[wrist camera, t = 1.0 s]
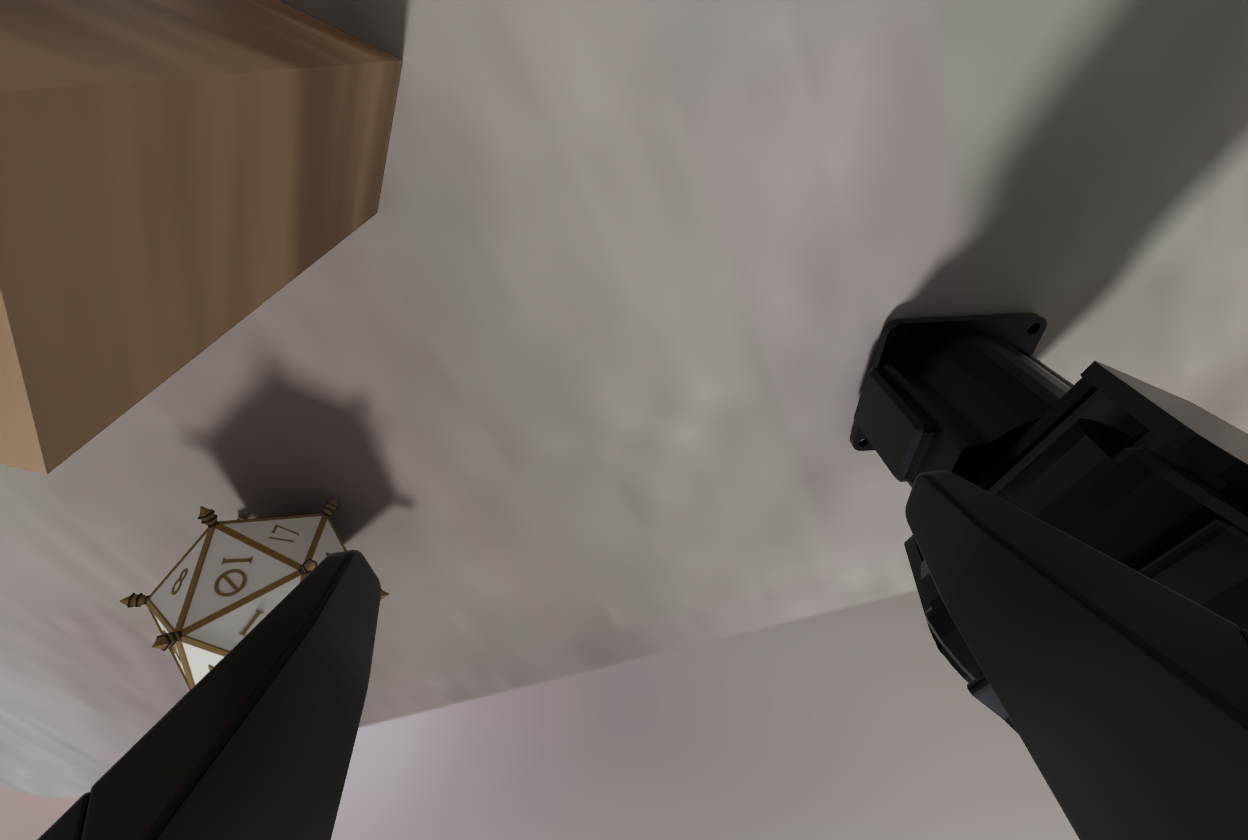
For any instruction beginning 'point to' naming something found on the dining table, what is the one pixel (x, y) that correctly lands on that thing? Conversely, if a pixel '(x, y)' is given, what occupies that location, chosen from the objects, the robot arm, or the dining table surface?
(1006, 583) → the robot arm
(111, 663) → the dining table surface
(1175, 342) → the dining table surface
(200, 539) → the game die
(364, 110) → the walnut block
